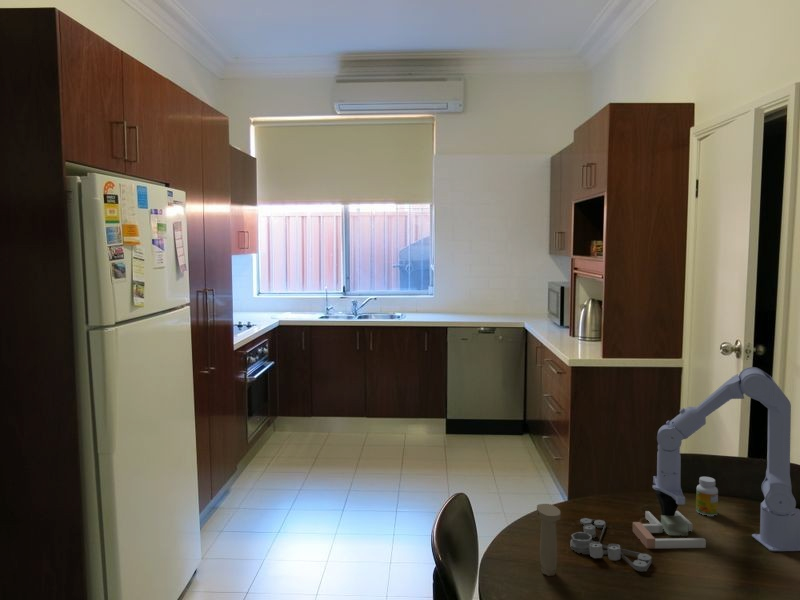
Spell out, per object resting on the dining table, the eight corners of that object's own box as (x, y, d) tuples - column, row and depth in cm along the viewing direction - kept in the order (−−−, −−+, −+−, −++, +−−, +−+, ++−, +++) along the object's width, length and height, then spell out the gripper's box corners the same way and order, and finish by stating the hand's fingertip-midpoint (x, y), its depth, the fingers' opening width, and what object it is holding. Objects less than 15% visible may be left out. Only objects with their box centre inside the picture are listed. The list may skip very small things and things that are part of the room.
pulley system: (602, 584, 127) (661, 572, 130) (600, 564, 127) (660, 552, 130) (547, 532, 154) (597, 523, 157) (546, 515, 154) (596, 506, 157)
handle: (544, 581, 127) (544, 516, 126) (533, 566, 133) (532, 504, 132) (564, 579, 128) (564, 514, 127) (552, 564, 134) (552, 502, 133)
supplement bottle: (691, 510, 161) (692, 476, 161) (706, 507, 163) (707, 474, 162) (706, 518, 156) (707, 483, 156) (722, 515, 158) (722, 481, 157)
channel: (677, 517, 157) (678, 510, 157) (709, 547, 140) (709, 539, 140) (629, 518, 157) (629, 511, 157) (655, 548, 141) (655, 540, 140)
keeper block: (680, 526, 152) (680, 515, 151) (688, 535, 147) (688, 524, 146) (660, 526, 152) (660, 515, 152) (668, 535, 147) (668, 524, 147)
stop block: (640, 531, 150) (640, 522, 149) (655, 548, 141) (655, 538, 140) (632, 531, 150) (632, 522, 149) (646, 548, 141) (647, 538, 140)
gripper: (642, 461, 159) (642, 507, 160) (665, 480, 145) (665, 532, 146) (667, 460, 159) (667, 507, 160) (693, 480, 145) (692, 532, 146)
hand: (668, 519), depth 153 cm, fingers closed
